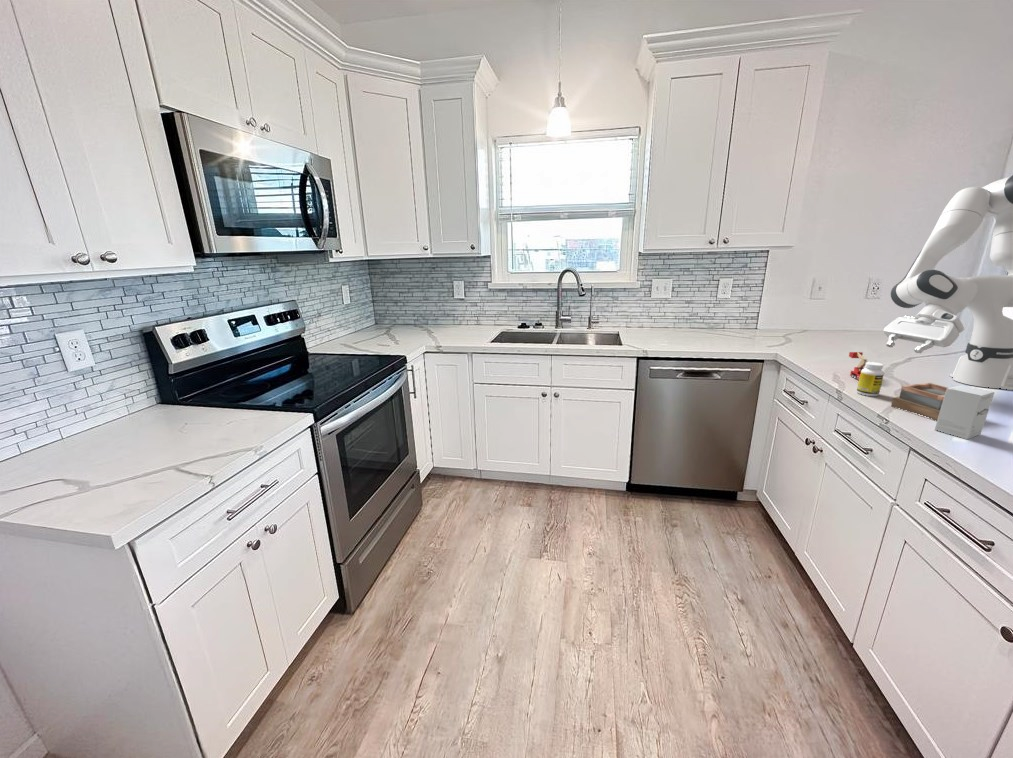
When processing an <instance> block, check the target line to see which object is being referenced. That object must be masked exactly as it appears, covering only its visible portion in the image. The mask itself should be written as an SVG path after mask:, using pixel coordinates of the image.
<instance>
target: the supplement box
mask: <svg viewBox="0 0 1013 758" xmlns="http://www.w3.org/2000/svg"><path fill="white" fill-rule="evenodd" d="M994 395H995V391H993V390H988V389H983V388H977V387H972V386H967V385H962V384H959V385H955V386H952V387H947V390H946V393H945V396H944V400H943V403H942V406H941V410H940V413H939V416H938V420H937V421H936V424H935V426H934V431H937V430H938V431H937V432H940V431H941V433H943V432H944V433H943V434H947V435H950V434H951V436H953V435H954V437H957V436H958V437H957V438H960V437H961V439H965V440H969V439H971V438H973V437H976V436H980V435H981V434H982V432H983V429H984V425H985V422H986V420H987V417H988V415H989V414H988V413H989V410H990V407H991V405H992V404H991V403H992V400H993V398H994Z"/></svg>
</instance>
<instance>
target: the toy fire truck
mask: <svg viewBox="0 0 1013 758" xmlns="http://www.w3.org/2000/svg"><path fill="white" fill-rule="evenodd" d="M848 353H849V354H848V357H849V358H851V359H860V361H859V363H858V365H857V366H854V368H853V370H850V374H849V376H851V378H852V377H853V379H854V378H855V379H854V380H858V381H859V378H860V374H861V370H862V369H864V368H865V364H866V362H868V358H865V357H864V356H863V353H864V352H863V351H859V352H858V351H849V352H848Z"/></svg>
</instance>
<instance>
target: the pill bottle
mask: <svg viewBox="0 0 1013 758" xmlns="http://www.w3.org/2000/svg"><path fill="white" fill-rule="evenodd" d="M863 368H864V369H862V370H861V374H860V378H859V380H858V383H857V387H856V388H857V389H856V393H857V394H859V395H861V394H862V396H865V395H866V396H865V397H878V396H879V395H880V393H881V387H882V383H883V381H884V376H885V373H884V371H883V368H884V364H882V363H881V362H877V361H876V362H873V361H867V362H866V364H865V366H864V367H863Z"/></svg>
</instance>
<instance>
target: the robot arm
mask: <svg viewBox="0 0 1013 758" xmlns="http://www.w3.org/2000/svg"><path fill="white" fill-rule="evenodd" d="M992 216H994V219H995V224H994V227H993V232H992V236H991V242H990V243H991V244H990V250H989V251H990V252H989V259H990V261H991V262H992V264H994V265H996V266H998V267H1001V268H1002V269H1004V270H1006V272H1007V273H1008V274H984V275H975V276H968V277H957V276H951V275H947V274H946V273H944V272H943V271H941V270H938V269H935V268H936V267H937V265H938V264H939V262H940V261H942V259H944V257H946V256H947V255H949V254H950V253H951V252H953V251H955V250H956V249H958V248H959V247H960V246H962V245H963V244H965V243H967V242H968V241H969V240H970V239H971V238H972V237H973V236H974V235H975V234H976V233H977V231H978V230H979V229H980V226H981V224H982V222H983V220H984V218H989V217H992ZM890 297H891V300H892V302H893V303H894V304H895V305H896V306H898V307H900V308H903V309H912V308H915V307H917V306H919V305H921V304H923V303H924V304H925V306H924V307H923V308H921V309H920V310H919V312H917V314H915V315H914V316H910V315H903V316H898V317H897V318H895V319H893V320H892V321H891V322H890V323H889V324H888V325H887V324H886V326H885V327H884V328H883V333H884V335H885V336H886V337H887V338H888V341H887V342H886V343H885V346H886V347H887V348H893V347H894V346H895V345H896V343H895V342H894V341H897V340H903V341H908V342H913V343H919V344H921V345H917V346H916V347H914V349H913V351H914V352H915V353H916V354H922V353H923V352H924V351H926V350H930V349H932V348H933V347H934V346H935V347H941V348H947V347H950V346H951V345H952V344H953V343H954V342H956V340H957V339H958V338H959V337H960V334H961V333H962V332H964V330H965V328H964V325H963V322H961V319H960V318H959V317H958V316H957V315H958V314H959V313H961V312H962V311H964V310H965V309H966V308H967V309H968V310H969V312H970V313H971V315H972V319H973V325H972V326H973V327H972V332H971V335H970V339H969V342H968V343H967V345H966V347H965V350H964V353H965V354H963V355H961V356H960V357H959V359H958V360H957V361H958V362H957V363H956V365H955V369H954V371H953V372H950V373H949V375H950V376H949V377H951V378H952V377H953V378H952V380H954V381H955V382H958V383H962V384H965V385H970V386H975V387H980V388H988V387H989V388H990V389H999V388H1001V390H1006V389H1007V391H1013V319H1012V318H1010V317H1008V316H1005V315H1004V314H1003V308H1013V175H1011V176H1007V177H1005V178H1004V177H1003V178H1001V179H998V180H995V181H993V182H990V183H988V184H986V185H984V186H982V187H979V186H971V187H970V186H969V187H965V188H962V189H960V190H959V191H957V192H956V193H955V194H954V195H953V197H952V198H951V199H950V200H949V201H948V203H947V204H946V205H945V207H944V209H943V210H942V212H941V213H940V216H939V218H938V220H937V221H936V224H935V225H934V228H933V229H932V231H931V234H930V235H929V237H928V238H927V240H926V242H925V243H924V245H923V247H922V248H921V250H920V251H919V253H918V255H917V256H916V257H915V260H914V261H913V263H912V264H911V266H910V268H908V271H907V272H906V275H905V276H904V277H903V278H902V279H901V281H899V282H898V283H897V284H895V285H894V286H893V287H892V288H891V290H890ZM989 388H988V389H989Z"/></svg>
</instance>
